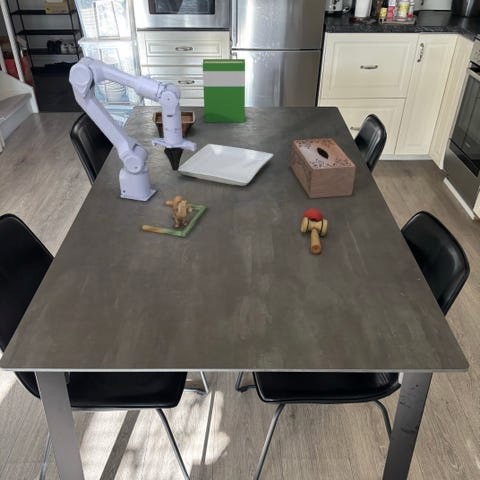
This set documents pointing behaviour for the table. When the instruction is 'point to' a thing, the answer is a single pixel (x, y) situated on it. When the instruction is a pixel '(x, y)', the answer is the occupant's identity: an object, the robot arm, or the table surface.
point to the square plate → (225, 164)
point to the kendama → (314, 227)
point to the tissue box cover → (322, 168)
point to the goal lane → (188, 227)
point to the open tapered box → (186, 120)
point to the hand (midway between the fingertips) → (175, 169)
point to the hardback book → (224, 90)
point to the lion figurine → (181, 210)
